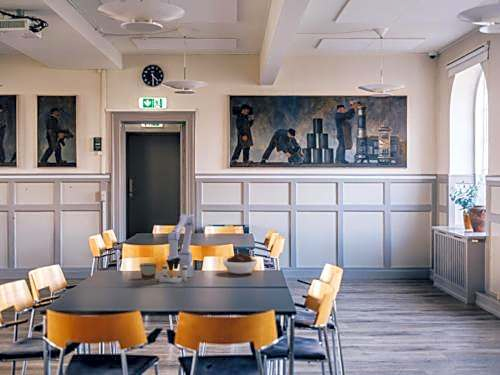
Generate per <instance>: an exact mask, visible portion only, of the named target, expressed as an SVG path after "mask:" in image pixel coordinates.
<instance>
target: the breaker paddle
mask: <svg viewBox="0 0 500 375" xmlns="http://www.w3.org/2000/svg"><path fill="white" fill-rule="evenodd" d="M169 276H176V273H175V271H170V272H169Z"/></svg>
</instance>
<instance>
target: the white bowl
mask: <svg viewBox="0 0 500 375" xmlns="http://www.w3.org/2000/svg"><path fill="white" fill-rule="evenodd" d="M222 264H223V265H224V266H225V267H226V271H227V272H228V273H231V274H235V275H246V274H250V273H252V272H253V270H254V268H255V267H256V266H257V264H258V261H257V259H254V258H252V257H251V256H250V255H249V254H248V253H242V252H241V253H240V252H239V253H234V255H233V256H231V257H229V258H225V259H223V261H222Z"/></svg>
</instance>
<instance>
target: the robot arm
mask: <svg viewBox="0 0 500 375" xmlns="http://www.w3.org/2000/svg"><path fill="white" fill-rule="evenodd" d="M195 224H196V216H195V215H194V214H193V213H192V214H185V213H181V214H180V216H179V221H178V223H177V224H176V225H175V226H174V227H173V228H172V230H171V231H170V232H168V234H167V240H168V248H169V249H168V254H169V255H167V257H166V258H167V259H166V260H165V262H166V265H167V268H168V271H170V272H173V271H174V270H178V268H179V270H178V271H179V275H176V276H181V277H182V266H187V278H190V277H194V276H195V275H194V265H193V263H192V262H193V253H192V252H191V251H190V246H191V240H192V233H193V228H194V227H195ZM183 228H184V234H183V242H182V246H181V247H182V248H181V249H180V250H179V249H178V248H179V247H178V246H179V243H178V242H179V240H180V236H181V233H182V232H183ZM178 250H179V251H178Z"/></svg>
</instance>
